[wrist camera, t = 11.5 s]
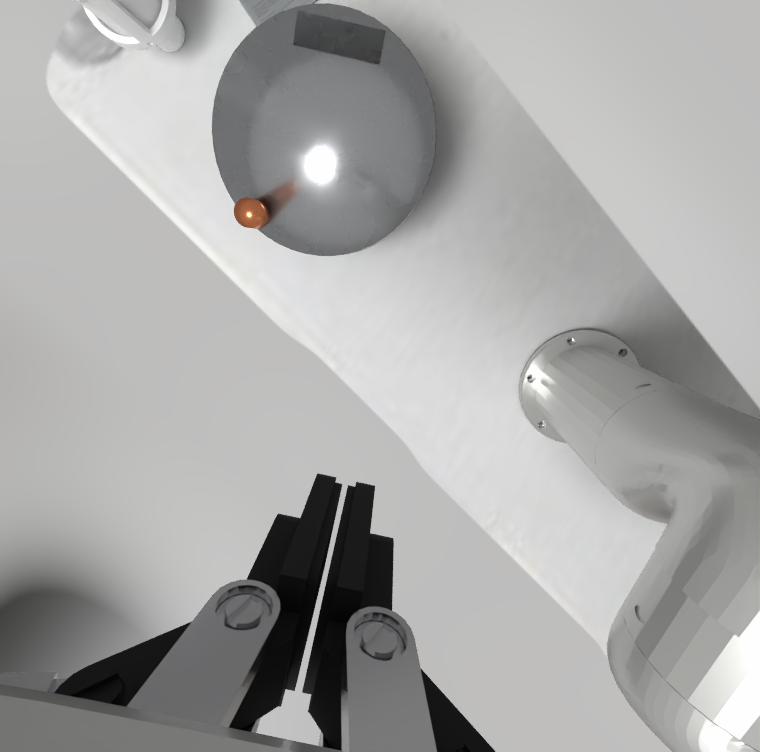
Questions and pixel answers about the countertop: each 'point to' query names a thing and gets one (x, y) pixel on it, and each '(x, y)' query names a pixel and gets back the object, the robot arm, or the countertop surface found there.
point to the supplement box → (269, 8)
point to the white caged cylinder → (138, 22)
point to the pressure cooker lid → (323, 130)
